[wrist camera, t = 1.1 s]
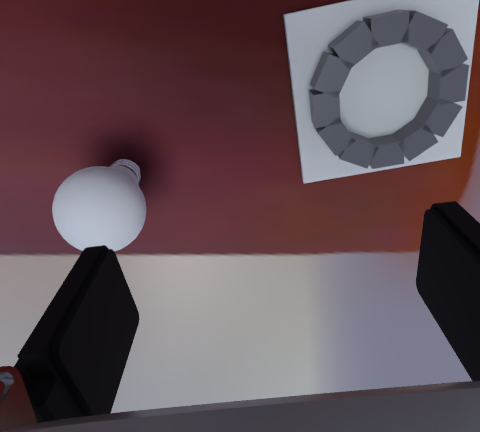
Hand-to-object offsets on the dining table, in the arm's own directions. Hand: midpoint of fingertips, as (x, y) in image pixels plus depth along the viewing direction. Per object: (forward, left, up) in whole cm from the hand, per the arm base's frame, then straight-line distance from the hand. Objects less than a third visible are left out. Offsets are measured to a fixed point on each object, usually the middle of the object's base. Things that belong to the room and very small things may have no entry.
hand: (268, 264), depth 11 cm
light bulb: (+5, -12, -23) cm, 27 cm away
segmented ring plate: (+2, +11, -23) cm, 25 cm away
